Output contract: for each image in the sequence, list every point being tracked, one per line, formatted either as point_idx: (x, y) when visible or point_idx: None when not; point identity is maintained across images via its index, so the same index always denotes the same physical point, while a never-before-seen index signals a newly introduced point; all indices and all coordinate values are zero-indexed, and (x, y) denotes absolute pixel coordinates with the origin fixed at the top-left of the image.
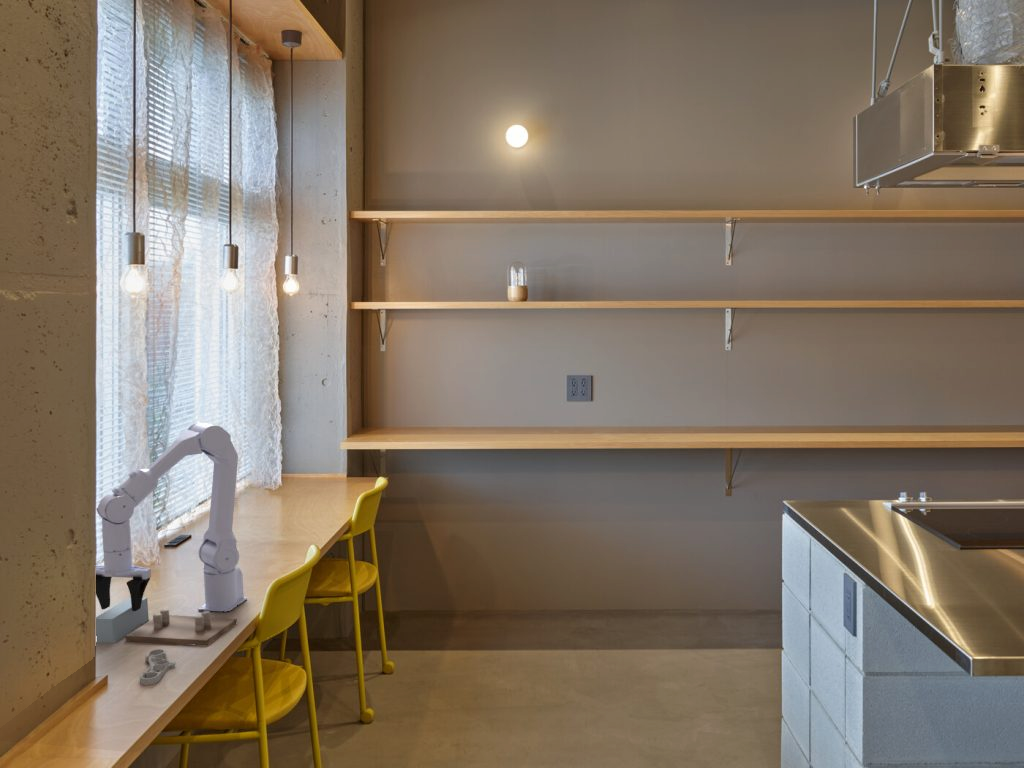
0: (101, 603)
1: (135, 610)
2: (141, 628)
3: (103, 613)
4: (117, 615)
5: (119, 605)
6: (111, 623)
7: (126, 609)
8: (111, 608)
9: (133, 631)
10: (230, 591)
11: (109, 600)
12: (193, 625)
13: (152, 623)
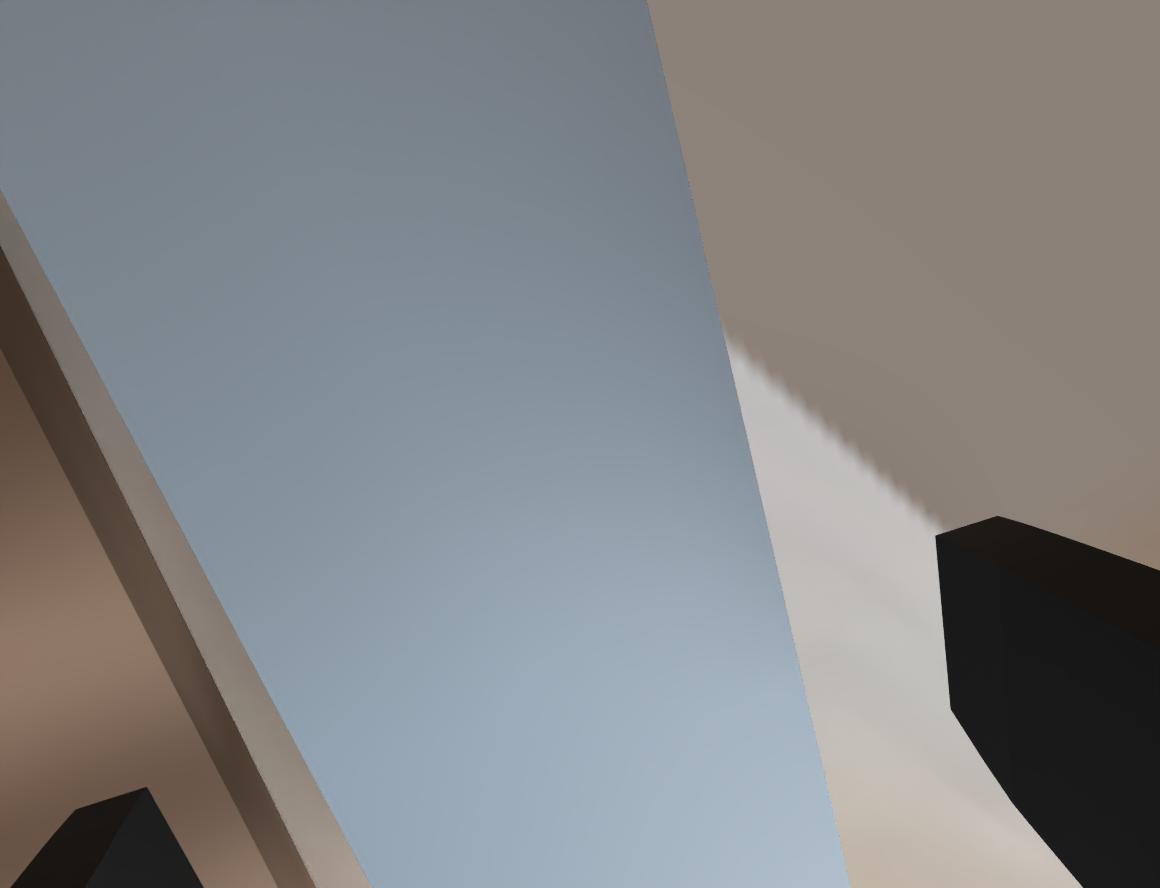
0: (1070, 575)
1: (59, 829)
2: (46, 606)
3: (680, 294)
4: (112, 358)
5: (748, 822)
6: None
7: (345, 759)
8: (780, 634)
9: (32, 445)
10: None
11: (1039, 814)
12: None
13: None
